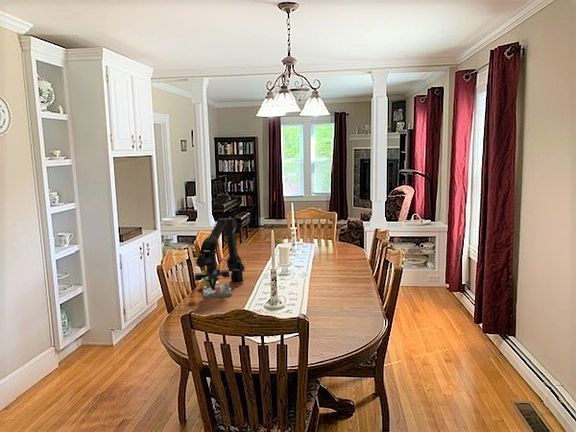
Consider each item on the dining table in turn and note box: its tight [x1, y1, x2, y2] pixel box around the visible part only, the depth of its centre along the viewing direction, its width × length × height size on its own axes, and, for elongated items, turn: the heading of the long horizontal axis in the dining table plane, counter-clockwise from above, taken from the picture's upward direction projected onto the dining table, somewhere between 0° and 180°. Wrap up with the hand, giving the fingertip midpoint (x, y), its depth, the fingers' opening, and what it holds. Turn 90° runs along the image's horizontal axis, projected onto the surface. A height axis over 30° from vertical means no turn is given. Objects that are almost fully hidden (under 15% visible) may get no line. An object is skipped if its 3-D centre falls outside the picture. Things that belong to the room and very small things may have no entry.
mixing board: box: [201, 283, 233, 300], centre depth 257 cm, size 15×18×3 cm
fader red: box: [215, 284, 221, 293], centre depth 253 cm, size 2×4×3 cm, turn 14°
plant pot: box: [200, 269, 213, 286], centre depth 271 cm, size 9×9×9 cm
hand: (213, 290), depth 252 cm, fingers closed
